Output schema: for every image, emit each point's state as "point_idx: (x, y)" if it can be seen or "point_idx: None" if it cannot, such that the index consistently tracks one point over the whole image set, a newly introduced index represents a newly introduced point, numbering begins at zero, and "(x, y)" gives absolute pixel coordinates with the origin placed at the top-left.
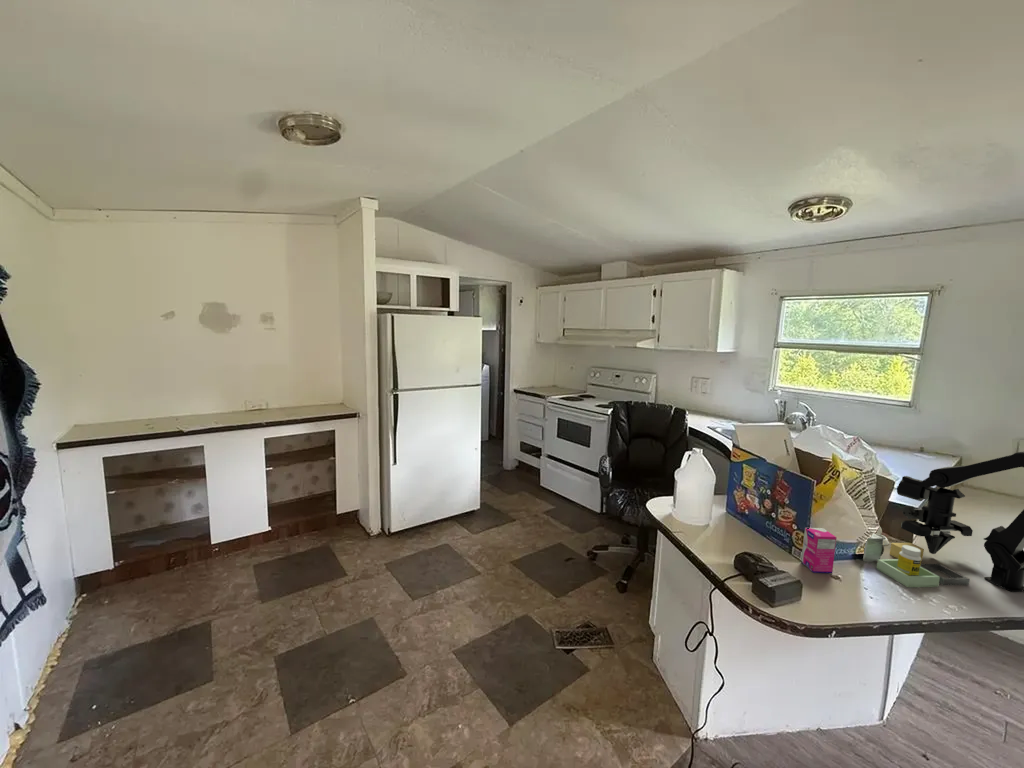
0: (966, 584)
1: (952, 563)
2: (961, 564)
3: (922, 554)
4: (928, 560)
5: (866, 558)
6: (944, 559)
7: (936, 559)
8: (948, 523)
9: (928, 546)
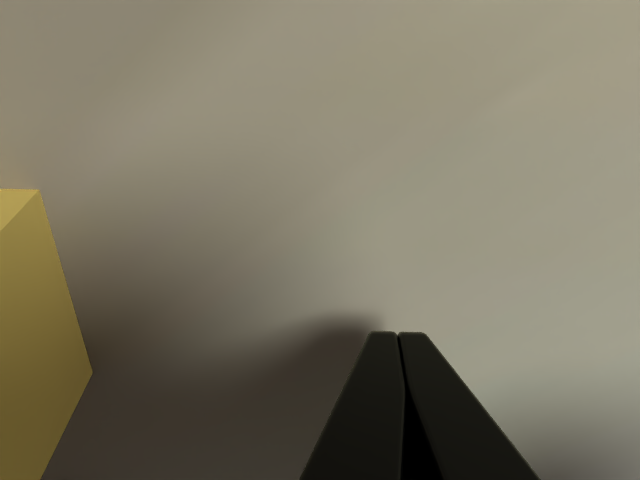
0: None
1: None
2: (614, 471)
3: (37, 461)
4: (207, 375)
5: None
6: (534, 367)
7: None
8: None
9: (330, 431)
